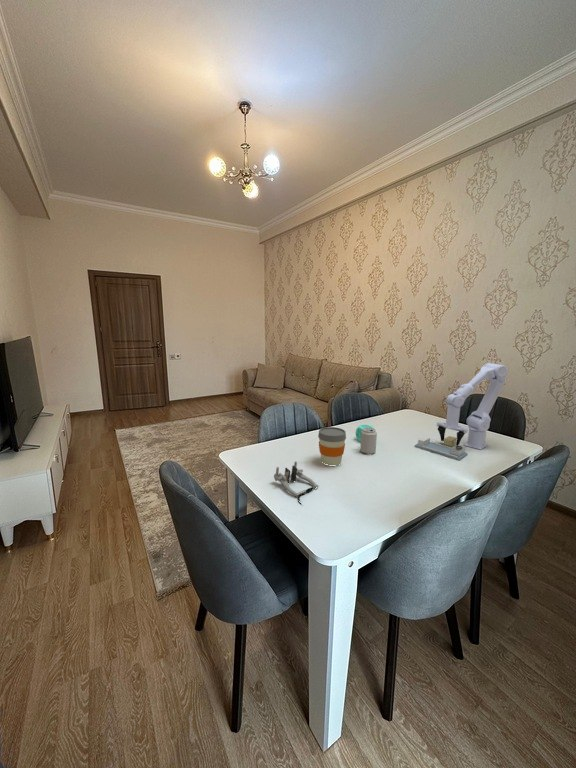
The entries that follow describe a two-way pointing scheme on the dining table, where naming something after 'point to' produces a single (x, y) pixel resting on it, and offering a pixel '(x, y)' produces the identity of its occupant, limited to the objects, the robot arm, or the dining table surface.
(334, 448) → the reusable coffee cup
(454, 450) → the free jaw
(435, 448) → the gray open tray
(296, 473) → the bike brake
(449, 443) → the wooden block
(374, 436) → the can
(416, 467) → the dining table surface
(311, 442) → the dining table surface
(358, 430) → the teal ball
